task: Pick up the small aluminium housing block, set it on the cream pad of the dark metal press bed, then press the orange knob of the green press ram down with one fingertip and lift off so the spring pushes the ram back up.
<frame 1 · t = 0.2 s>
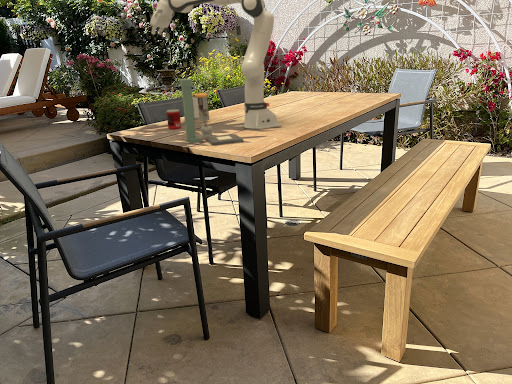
hand: (156, 34, 234), 54 cm above the table, tool tilted 30°, fingers open, 8 cm apart
press bed: (224, 141, 208), on the table
coffee box: (201, 120, 274), on the table
ram: (200, 105, 207), point 18 cm above the table, slide at 0.0 cm
canned food: (174, 128, 248), on the table
housing: (206, 135, 224), on the table
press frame: (194, 141, 211), on the table
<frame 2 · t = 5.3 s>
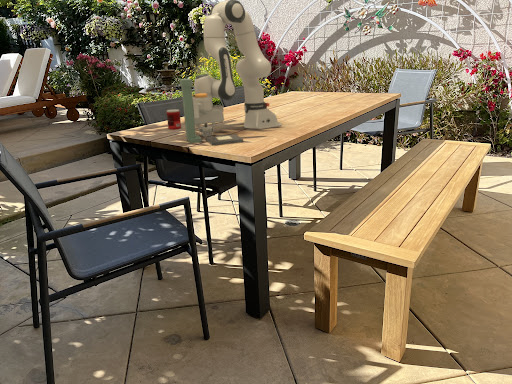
hand: (206, 131, 223), 2 cm above the table, tool pointing down, fingers closed on housing, 5 cm apart
housing: (206, 135, 224), on the table, touching gripper
everything else where it was.
when the fingers open (5 cm above the table, at t = 13.4 s): housing drops 1 cm, resting on press bed.
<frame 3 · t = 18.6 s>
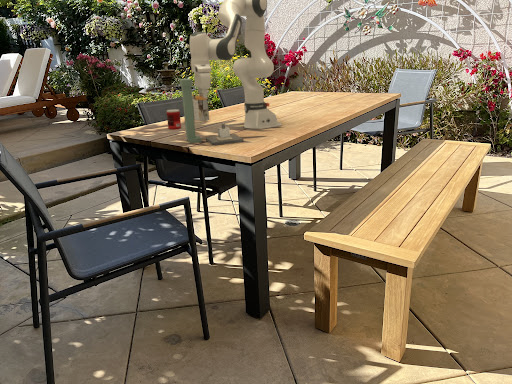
hand: (203, 97, 201), 22 cm above the table, tool pointing down, fingers open, 8 cm apart
ram: (200, 107, 207), point 17 cm above the table, slide at 1.2 cm, touching gripper
housing: (224, 137, 208), point 2 cm above the table, touching press bed
everything else where it was.
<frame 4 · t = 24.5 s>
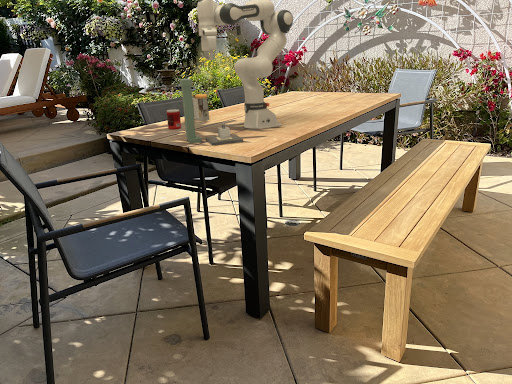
hand: (209, 59, 218), 39 cm above the table, tool pointing down, fingers open, 8 cm apart
ram: (200, 106, 207), point 17 cm above the table, slide at 0.4 cm
everything else where it was.
at the end: housing 0.0 cm off-centre on the press bed, point 1.7 cm above the press bed's base; housing tilted 0°; ram slide at 0.4 cm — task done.
